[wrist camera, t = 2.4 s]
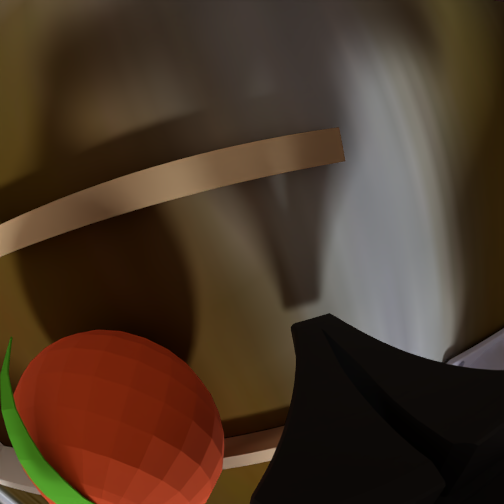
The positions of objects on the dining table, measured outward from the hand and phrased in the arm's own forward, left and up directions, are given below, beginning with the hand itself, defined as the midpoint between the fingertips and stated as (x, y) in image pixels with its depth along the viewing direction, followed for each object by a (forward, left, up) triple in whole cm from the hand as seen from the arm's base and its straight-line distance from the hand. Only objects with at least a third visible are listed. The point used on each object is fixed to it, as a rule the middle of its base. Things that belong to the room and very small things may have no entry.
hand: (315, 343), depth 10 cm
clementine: (+7, 0, -2) cm, 7 cm away
